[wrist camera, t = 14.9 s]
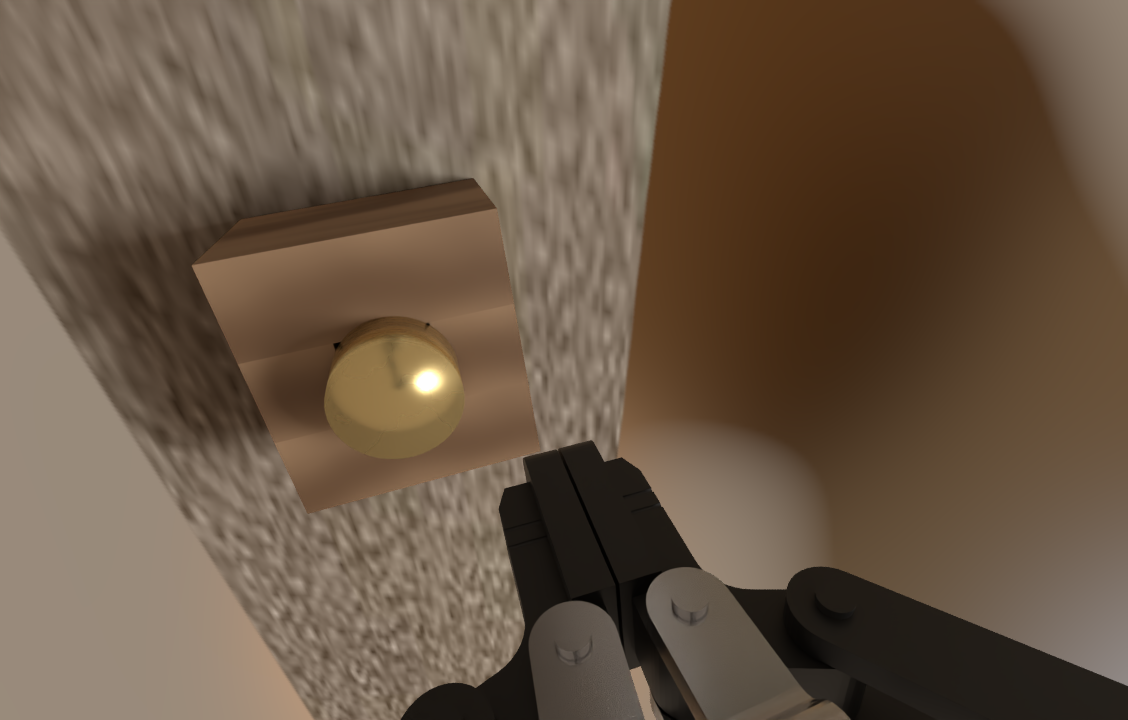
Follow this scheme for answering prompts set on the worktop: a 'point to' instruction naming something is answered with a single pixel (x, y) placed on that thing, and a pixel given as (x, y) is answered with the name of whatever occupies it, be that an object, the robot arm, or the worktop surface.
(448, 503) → the worktop surface
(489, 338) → the block
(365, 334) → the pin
